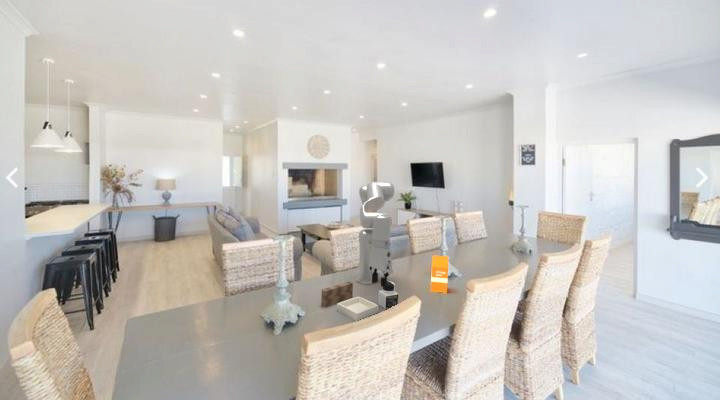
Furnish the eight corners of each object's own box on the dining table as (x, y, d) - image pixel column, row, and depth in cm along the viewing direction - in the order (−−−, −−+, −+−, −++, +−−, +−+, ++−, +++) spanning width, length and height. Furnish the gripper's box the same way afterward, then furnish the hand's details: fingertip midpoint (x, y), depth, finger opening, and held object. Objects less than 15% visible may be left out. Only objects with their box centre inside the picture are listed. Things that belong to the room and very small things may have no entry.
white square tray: (358, 302, 163) (358, 296, 163) (378, 312, 153) (378, 305, 153) (336, 310, 153) (336, 303, 153) (357, 321, 143) (357, 313, 143)
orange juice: (446, 293, 180) (449, 258, 178) (430, 291, 181) (432, 257, 179) (446, 288, 187) (448, 254, 185) (430, 286, 189) (432, 253, 187)
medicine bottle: (385, 310, 156) (386, 285, 155) (378, 304, 162) (378, 281, 161) (397, 307, 159) (399, 283, 158) (390, 302, 166) (391, 279, 164)
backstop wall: (348, 296, 171) (349, 281, 170) (352, 297, 169) (352, 283, 168) (321, 305, 159) (321, 289, 158) (325, 307, 157) (325, 291, 156)
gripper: (401, 246, 137) (399, 287, 139) (372, 238, 149) (371, 277, 151) (389, 248, 132) (388, 291, 134) (361, 241, 144) (359, 280, 146)
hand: (379, 283), depth 142 cm, fingers open, 4 cm apart
